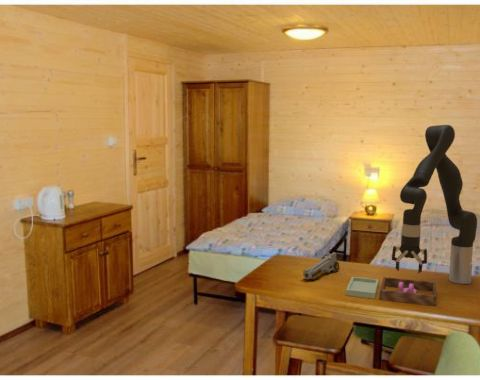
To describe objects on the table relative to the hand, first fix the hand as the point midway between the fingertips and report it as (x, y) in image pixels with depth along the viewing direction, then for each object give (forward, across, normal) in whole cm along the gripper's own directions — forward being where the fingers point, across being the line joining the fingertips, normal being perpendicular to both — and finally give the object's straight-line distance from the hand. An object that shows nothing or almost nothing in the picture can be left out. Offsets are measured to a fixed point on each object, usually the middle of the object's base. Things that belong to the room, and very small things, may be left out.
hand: (408, 271), depth 219 cm
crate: (+10, 0, 0) cm, 11 cm away
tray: (+11, +19, 0) cm, 21 cm away
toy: (+11, +40, -14) cm, 43 cm away
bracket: (+11, 0, 0) cm, 11 cm away
